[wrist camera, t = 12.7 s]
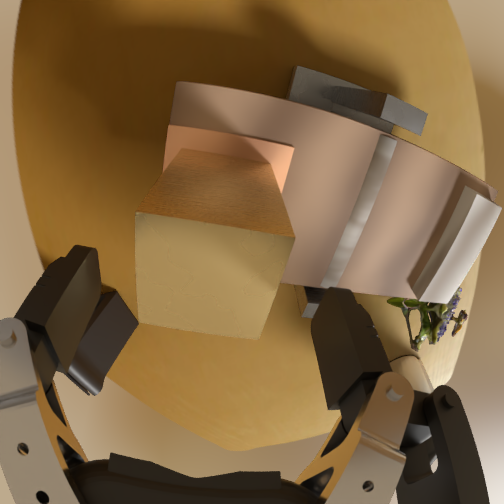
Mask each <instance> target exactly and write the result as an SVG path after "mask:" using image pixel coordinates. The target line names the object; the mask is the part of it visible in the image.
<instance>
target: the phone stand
mask: <svg viewBox="0 0 504 504" xmlns="http://www.w3.org/2000/svg"><path fill="white" fill-rule="evenodd" d="M138 324H139V322H138V321H137V320H136V318H135V317H134V316H133V314H132V313H131V311H130V310H129V308H128V307H127V306H126V304H125V303H124V301H123V300H122V298H121V297H120V295H119V294H118V292H117V291H113V292H108V293H104V294H100V298H99V301H98V303H97V305H96V307H95V309H94V311H93V313H92V316H91V318H90V320H89V322H88V324H87V327H86V329H85V331H84V333H83V336H82V338H81V340H80V343H79V345H78V348H77V350H76V352H75V355H74V357H73V360H72V362H71V365H70V368H69V370H68V373H67V374H65V375H66V376H67V377H68V378H69V379H70V380H71V381H72V382H74V383H75V384H76V385H77V386H78V387H79V388H80V389H81V390H83V391H84V392H85V393H86V394H87V395H90V394H89V393H88V391H89V392H90V393H91V394H92V395H94V396H95V395H97V394H98V393H99V392H100V391H101V389H102V387H103V382H104V378H105V376H106V374H107V372H108V371H109V369H110V368H111V366H112V364H113V363H114V361H115V360H116V358H117V356H118V355H119V353H120V352H121V350H122V349H123V347H124V345H125V344H126V342H127V341H128V339H129V338H130V336H131V335H132V333H133V332H134V330H135V329H136V327H137V326H138ZM87 390H88V391H87Z"/></svg>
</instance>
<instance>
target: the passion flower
mask: <svg viewBox="0 0 504 504" xmlns="http://www.w3.org/2000/svg"><path fill="white" fill-rule="evenodd" d="M461 291H462V288H460V287H458V289H457V290H456V292H455V293H454V295H453V296H452V298H451V299H450V301H449V302H448V304H444V303H433V302H430V303H429V302H423V301H418V299H410V298H401V297H393V298H391V299H389V300H387V302H388V303H389V304H391V305H393V306H396V307H400V308H401V309H402V312H403V315H404V316H405V318H406V322H407V327H408V331H409V336H410V344H411V348H412V349H414V350H415V351H417V352H418V350H420V346H421V344H422V343H423V342H424V340H425V339H426V338H428V339H429V344H436V343H437V342H438V341H439V338H440V336H441V337H442V335H444V332H445V331H446V330H447V329H446V326H447V324H449V321H450V320H454V321H455V322H456V324H455V326H454V329H453V331H452V337H454V336H455V334H456V333H457V332H458V331H459V330H460V329H461V327H462V324H464V321H466V319H467V314H466V310H464V311H463V310H461V312H460V313H459V316H458V318H455V317H453V314H454V312H453V311H454V309H455V308H457V307H456V306H457V304H458V302H459V300H460V299H461V298H460V297H459V295H460V294H461ZM459 298H460V299H459ZM428 303H429V305H427V304H428ZM414 309H418V310H419V311H420V314H421V318H420V319H421V328H420V332H419V335H418V336H416V337H415V340H412V334H411V329H410V323H409V314H410V311H411V310H414ZM428 312H429V315H430V318H431V322H430V320H429V316H428Z"/></svg>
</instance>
